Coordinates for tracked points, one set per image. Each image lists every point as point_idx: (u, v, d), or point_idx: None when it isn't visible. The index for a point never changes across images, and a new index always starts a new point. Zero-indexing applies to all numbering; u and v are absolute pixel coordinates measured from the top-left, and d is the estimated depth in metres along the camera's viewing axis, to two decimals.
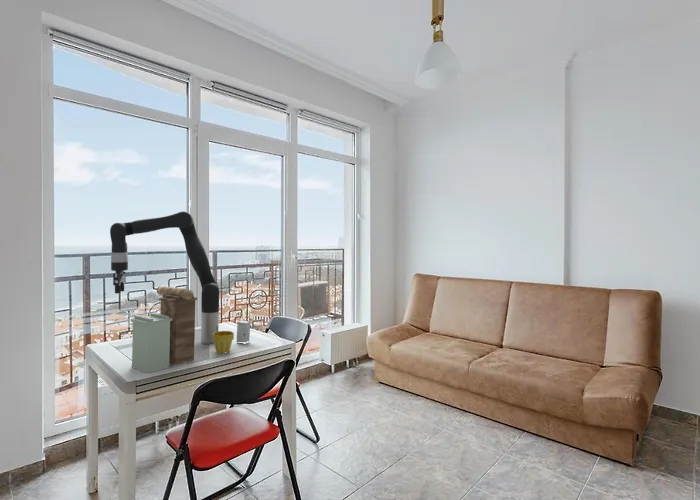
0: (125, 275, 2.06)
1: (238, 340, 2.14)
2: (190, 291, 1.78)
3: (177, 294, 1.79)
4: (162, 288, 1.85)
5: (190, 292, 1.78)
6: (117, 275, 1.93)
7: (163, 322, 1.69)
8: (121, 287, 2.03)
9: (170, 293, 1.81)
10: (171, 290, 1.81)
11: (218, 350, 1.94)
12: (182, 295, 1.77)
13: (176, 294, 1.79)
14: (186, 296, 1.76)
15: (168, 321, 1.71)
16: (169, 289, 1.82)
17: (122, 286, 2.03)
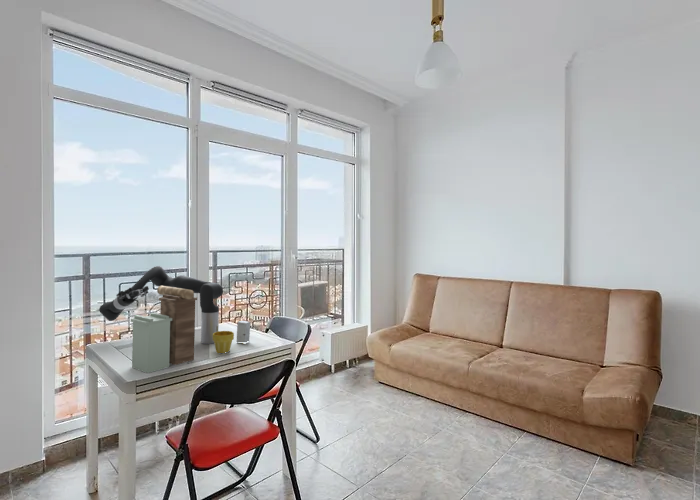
0: None
1: (238, 340, 2.14)
2: (191, 291, 1.78)
3: (178, 293, 1.79)
4: (163, 287, 1.86)
5: (191, 292, 1.79)
6: (117, 295, 1.98)
7: (163, 322, 1.69)
8: (145, 288, 2.04)
9: (171, 292, 1.82)
10: (172, 289, 1.82)
11: (218, 350, 1.94)
12: (182, 294, 1.77)
13: (176, 294, 1.79)
14: (186, 295, 1.76)
15: (168, 321, 1.71)
16: (170, 288, 1.83)
17: (144, 288, 2.04)
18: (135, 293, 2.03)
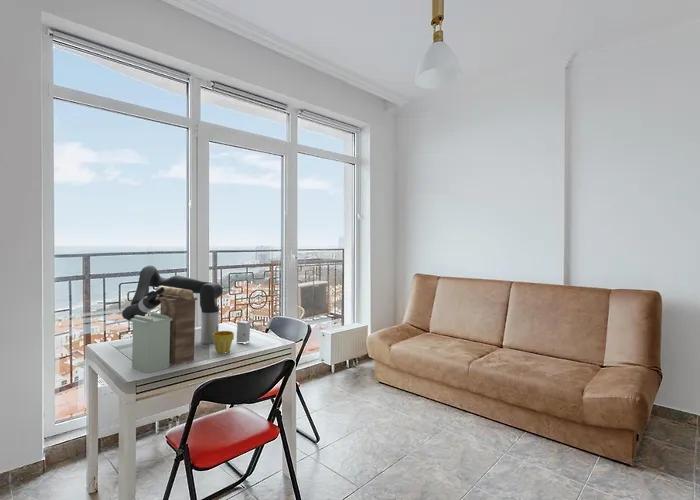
0: None
1: (238, 340, 2.14)
2: (190, 291, 1.78)
3: (177, 294, 1.78)
4: None
5: (190, 292, 1.78)
6: (145, 296, 1.84)
7: (163, 322, 1.69)
8: None
9: (170, 293, 1.81)
10: (171, 290, 1.81)
11: (218, 350, 1.94)
12: (181, 295, 1.77)
13: (176, 295, 1.79)
14: (186, 296, 1.76)
15: (168, 321, 1.71)
16: (169, 289, 1.82)
17: None
18: (160, 295, 1.89)
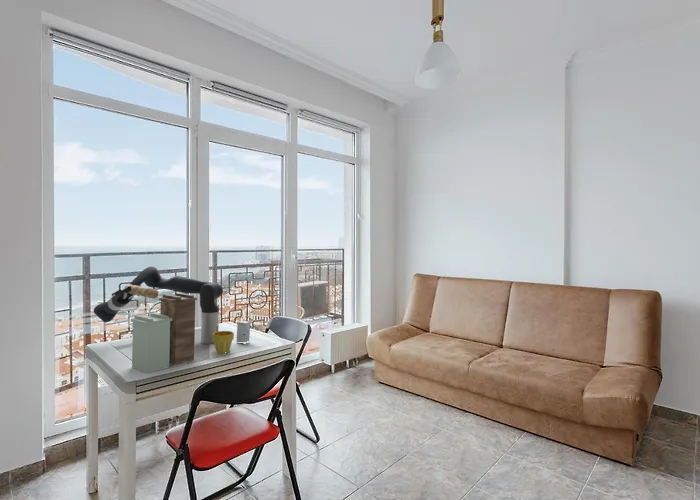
0: None
1: (238, 340, 2.14)
2: (155, 290, 1.81)
3: (142, 293, 1.81)
4: None
5: (155, 291, 1.81)
6: (112, 294, 1.87)
7: (163, 322, 1.69)
8: None
9: (136, 292, 1.84)
10: (137, 289, 1.84)
11: (218, 350, 1.94)
12: (147, 294, 1.79)
13: (141, 294, 1.82)
14: (151, 295, 1.79)
15: (168, 321, 1.71)
16: (136, 288, 1.85)
17: None
18: (128, 293, 1.92)
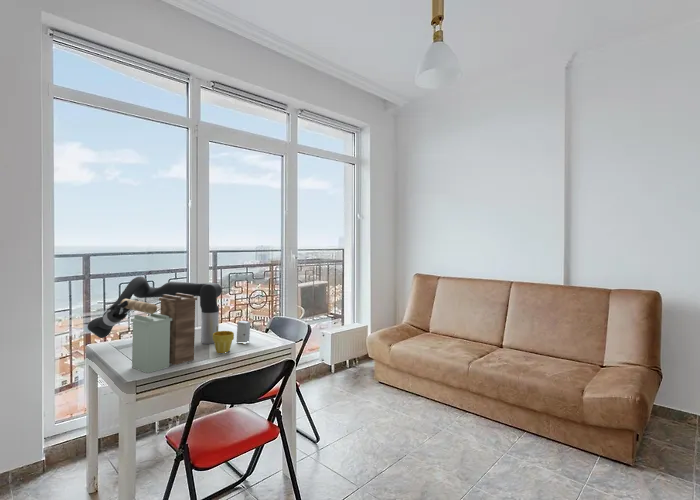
0: None
1: (238, 340, 2.14)
2: (153, 305, 1.71)
3: (140, 308, 1.71)
4: None
5: (154, 306, 1.71)
6: (108, 309, 1.77)
7: (163, 322, 1.69)
8: None
9: (133, 307, 1.74)
10: (134, 304, 1.74)
11: (218, 350, 1.94)
12: (144, 309, 1.70)
13: (139, 309, 1.72)
14: (149, 311, 1.69)
15: (168, 321, 1.71)
16: (132, 303, 1.75)
17: None
18: (124, 308, 1.82)
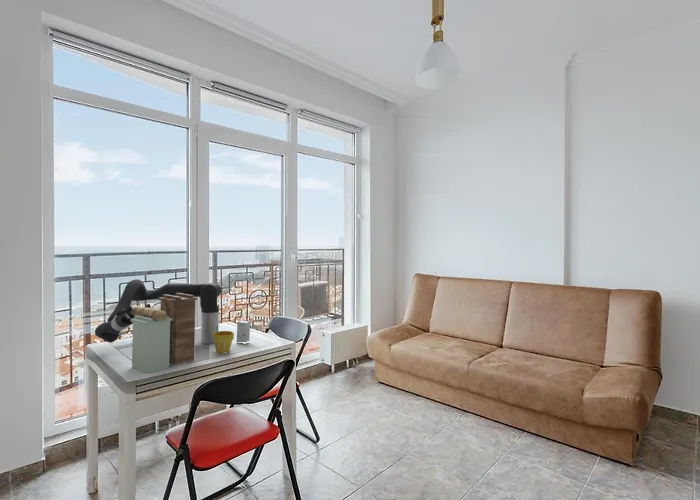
0: None
1: (238, 340, 2.14)
2: (163, 312, 1.67)
3: (149, 316, 1.68)
4: (134, 308, 1.74)
5: (163, 313, 1.67)
6: (114, 315, 1.74)
7: (163, 322, 1.69)
8: (146, 307, 1.79)
9: (142, 314, 1.70)
10: (143, 311, 1.70)
11: (218, 350, 1.94)
12: (154, 317, 1.66)
13: (148, 316, 1.68)
14: (159, 318, 1.65)
15: (168, 321, 1.71)
16: (141, 310, 1.71)
17: None
18: None
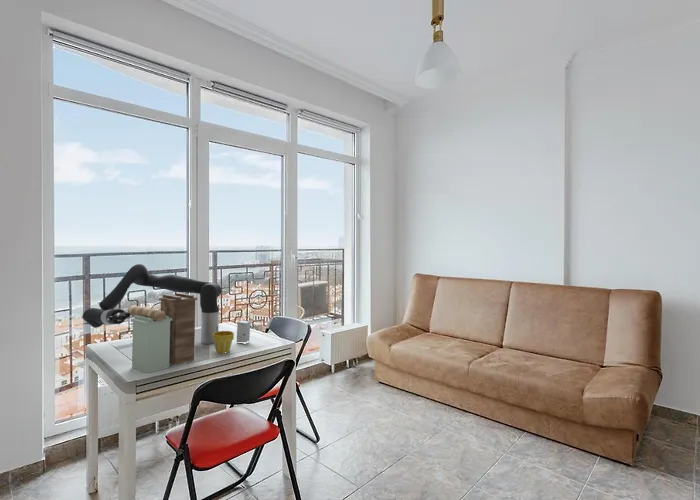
0: None
1: (238, 340, 2.14)
2: (161, 312, 1.66)
3: (149, 317, 1.67)
4: (133, 310, 1.73)
5: (162, 313, 1.66)
6: (107, 318, 1.80)
7: (163, 322, 1.69)
8: None
9: (142, 315, 1.70)
10: (142, 312, 1.70)
11: (218, 350, 1.94)
12: (153, 318, 1.65)
13: None
14: (158, 319, 1.65)
15: (168, 321, 1.71)
16: (140, 311, 1.71)
17: None
18: (127, 316, 1.85)
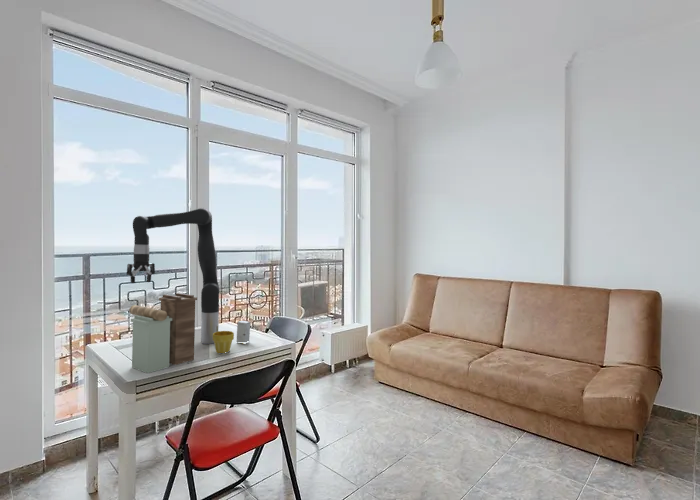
0: (154, 267, 2.13)
1: (238, 340, 2.14)
2: (163, 312, 1.67)
3: (150, 315, 1.68)
4: (135, 308, 1.74)
5: (164, 313, 1.67)
6: (129, 266, 2.02)
7: (163, 322, 1.69)
8: (148, 278, 2.12)
9: (143, 314, 1.70)
10: (144, 311, 1.70)
11: (218, 350, 1.94)
12: (154, 316, 1.66)
13: (148, 316, 1.68)
14: (159, 318, 1.65)
15: (168, 321, 1.71)
16: (142, 309, 1.71)
17: (148, 277, 2.11)
18: None
